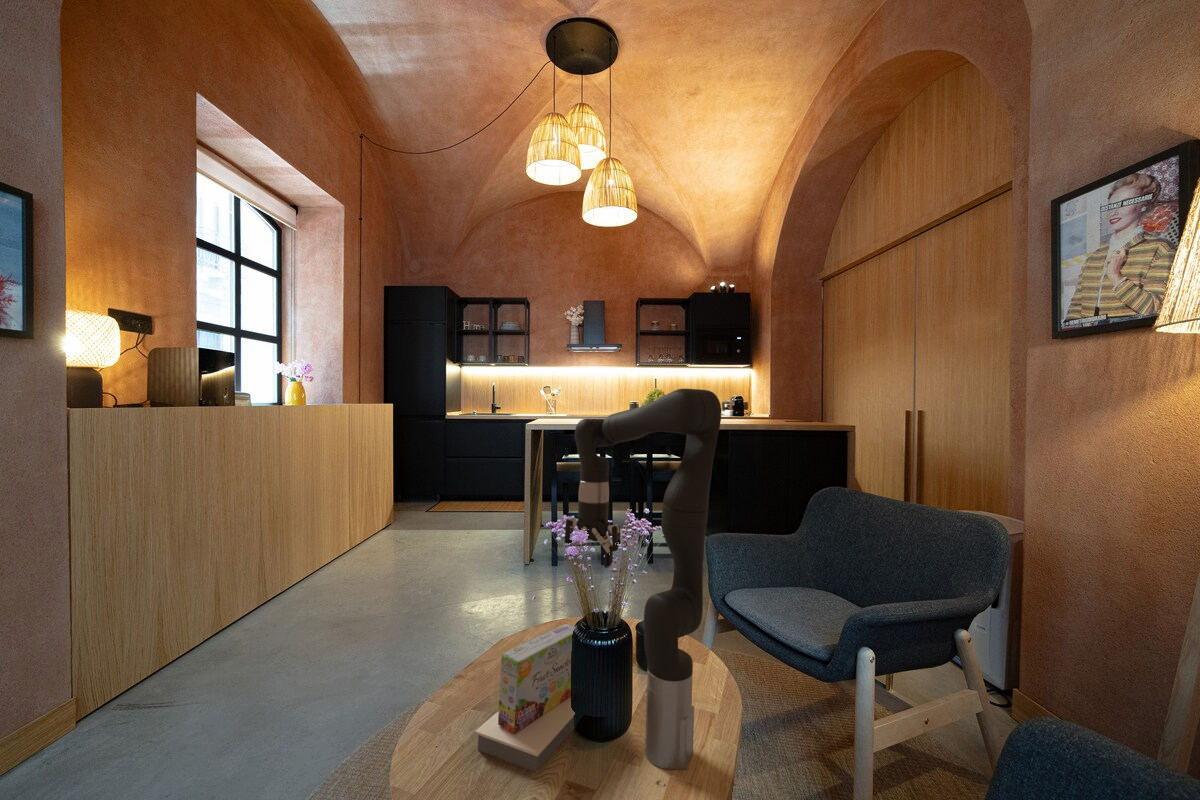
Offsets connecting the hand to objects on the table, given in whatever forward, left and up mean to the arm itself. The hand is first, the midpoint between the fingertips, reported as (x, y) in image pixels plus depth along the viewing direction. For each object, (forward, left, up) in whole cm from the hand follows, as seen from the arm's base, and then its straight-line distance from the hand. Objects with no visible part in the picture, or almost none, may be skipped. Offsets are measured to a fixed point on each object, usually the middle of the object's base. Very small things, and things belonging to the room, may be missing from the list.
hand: (591, 564), depth 129 cm
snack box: (+3, +17, -28) cm, 33 cm away
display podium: (+3, +16, -32) cm, 36 cm away
